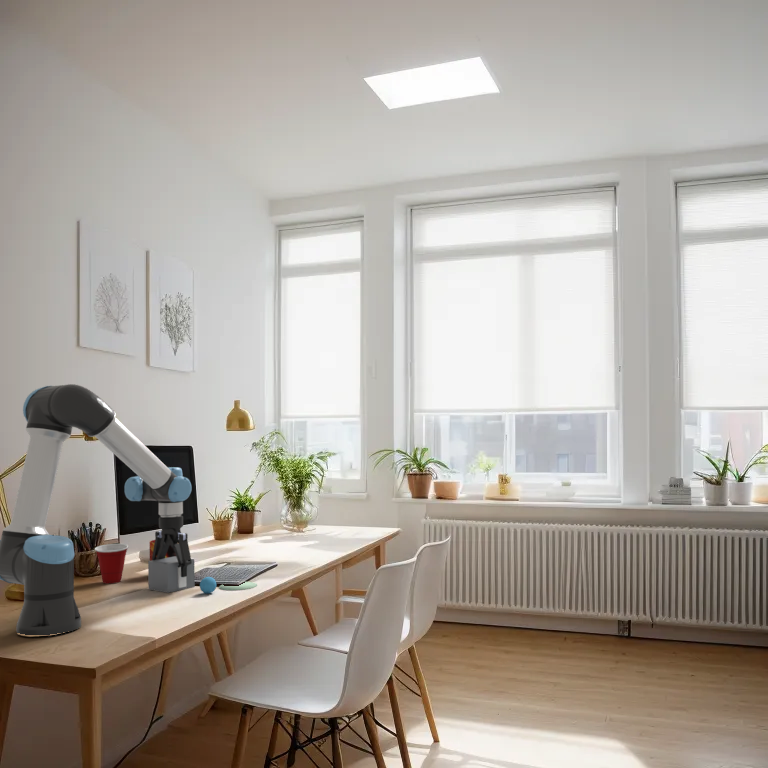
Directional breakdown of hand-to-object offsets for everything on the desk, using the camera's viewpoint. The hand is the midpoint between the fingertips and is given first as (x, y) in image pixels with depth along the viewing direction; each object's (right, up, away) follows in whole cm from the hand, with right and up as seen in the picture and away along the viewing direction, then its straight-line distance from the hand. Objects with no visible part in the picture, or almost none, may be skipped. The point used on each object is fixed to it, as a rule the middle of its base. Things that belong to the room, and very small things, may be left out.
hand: (171, 585), depth 240 cm
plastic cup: (-24, -2, +12) cm, 26 cm away
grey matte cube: (0, -1, 0) cm, 1 cm away
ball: (+14, +3, -10) cm, 17 cm away
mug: (-7, -3, +22) cm, 23 cm away
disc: (+21, 0, 0) cm, 21 cm away
